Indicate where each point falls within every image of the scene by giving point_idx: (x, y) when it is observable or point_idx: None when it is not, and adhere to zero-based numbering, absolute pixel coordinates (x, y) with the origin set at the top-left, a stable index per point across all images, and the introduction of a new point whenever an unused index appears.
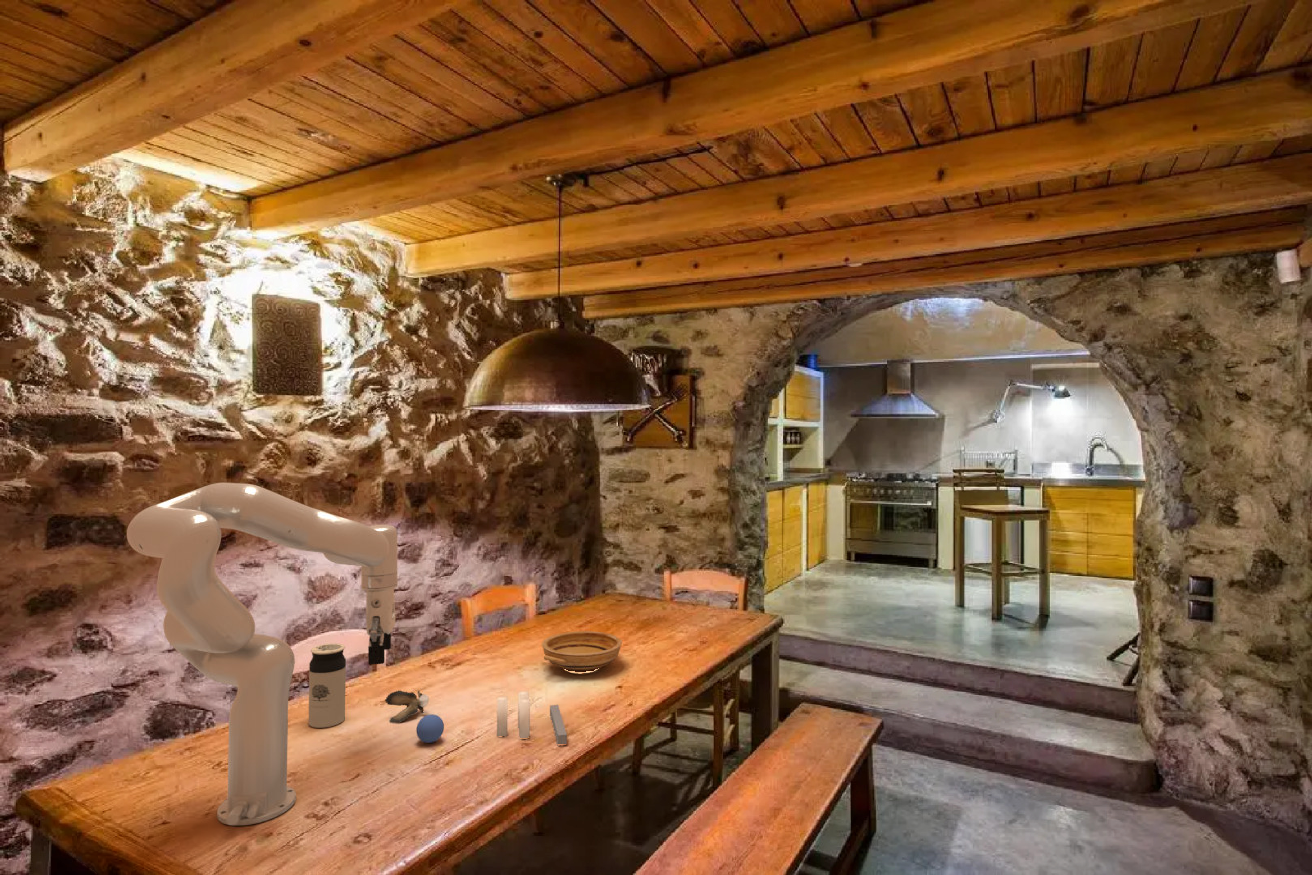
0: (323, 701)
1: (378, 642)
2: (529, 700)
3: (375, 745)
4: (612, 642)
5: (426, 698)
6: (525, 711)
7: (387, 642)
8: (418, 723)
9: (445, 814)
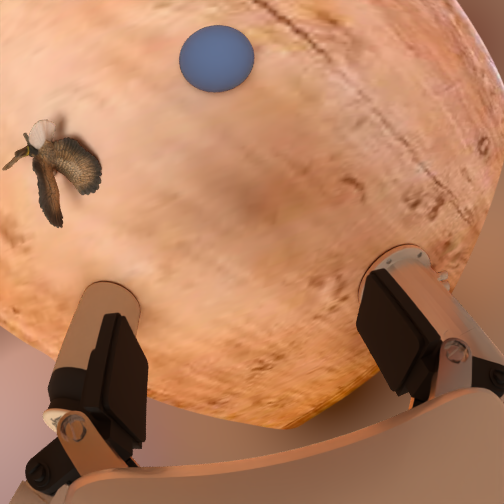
0: None
1: (488, 361)
2: None
3: (220, 181)
4: None
5: (39, 127)
6: None
7: (123, 356)
8: (226, 85)
9: (467, 52)
